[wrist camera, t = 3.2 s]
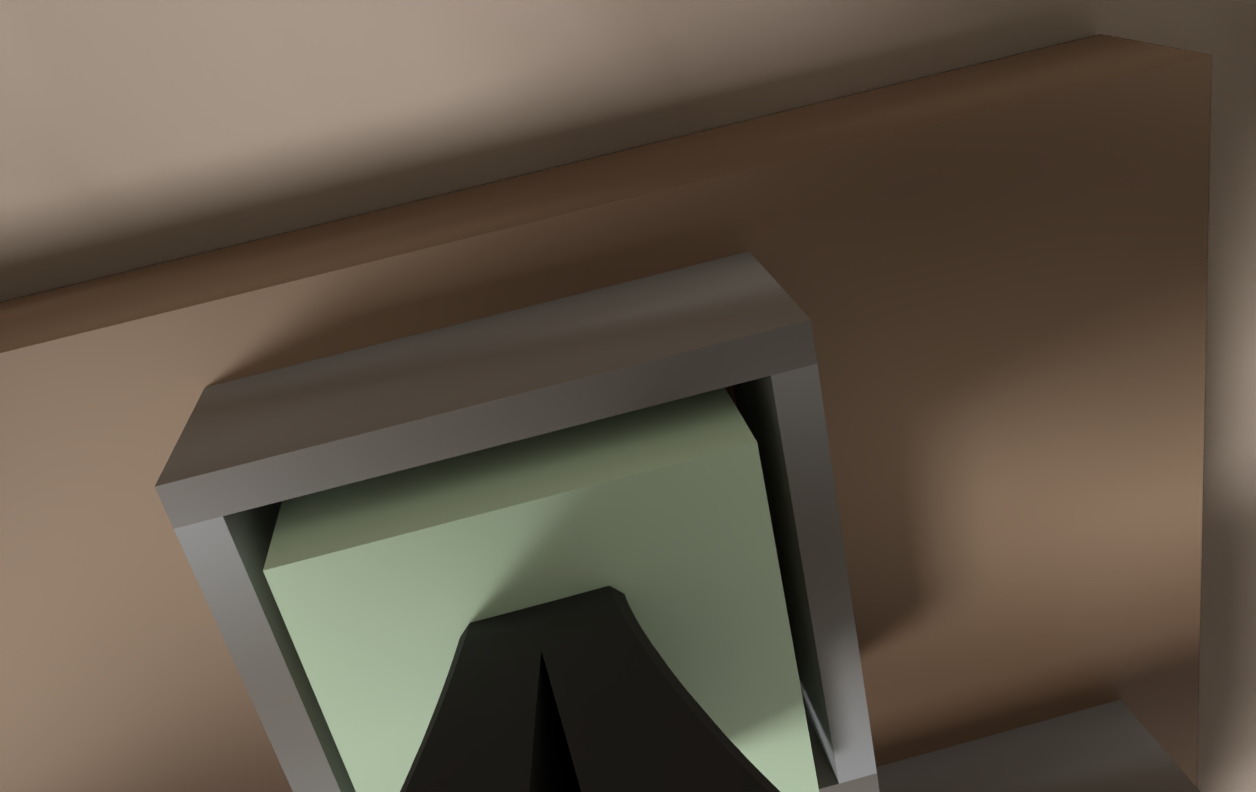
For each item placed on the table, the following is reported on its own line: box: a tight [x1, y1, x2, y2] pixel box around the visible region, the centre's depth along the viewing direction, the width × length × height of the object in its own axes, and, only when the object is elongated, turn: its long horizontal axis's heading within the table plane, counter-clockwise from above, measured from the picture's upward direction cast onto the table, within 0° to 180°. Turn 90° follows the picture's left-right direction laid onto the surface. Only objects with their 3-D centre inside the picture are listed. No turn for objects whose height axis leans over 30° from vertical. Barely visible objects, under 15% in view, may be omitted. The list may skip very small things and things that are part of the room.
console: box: [0, 34, 1212, 792], centre depth 13 cm, size 14×15×4 cm
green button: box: [263, 388, 819, 792], centre depth 11 cm, size 4×4×2 cm
